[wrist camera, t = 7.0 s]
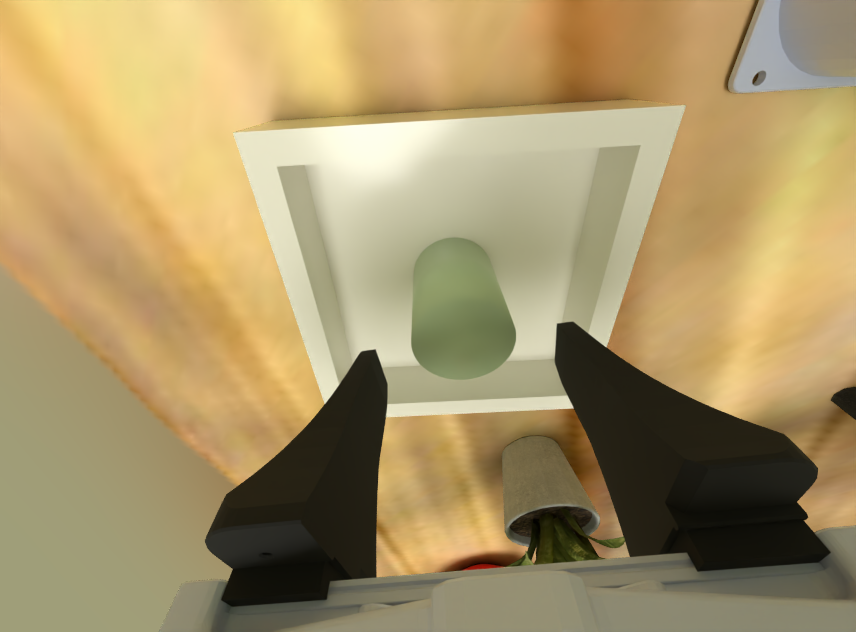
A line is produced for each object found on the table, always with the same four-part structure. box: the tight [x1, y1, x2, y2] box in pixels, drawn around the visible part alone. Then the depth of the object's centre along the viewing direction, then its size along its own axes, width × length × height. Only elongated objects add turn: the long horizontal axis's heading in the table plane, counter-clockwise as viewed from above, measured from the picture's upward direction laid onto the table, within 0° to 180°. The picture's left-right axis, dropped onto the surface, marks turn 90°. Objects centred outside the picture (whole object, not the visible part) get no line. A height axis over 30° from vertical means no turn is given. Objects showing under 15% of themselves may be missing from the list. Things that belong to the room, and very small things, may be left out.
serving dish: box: [233, 99, 686, 417], centre depth 18 cm, size 16×16×4 cm
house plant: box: [481, 436, 625, 569], centre depth 25 cm, size 14×14×16 cm
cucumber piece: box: [411, 238, 516, 380], centre depth 17 cm, size 4×4×6 cm
